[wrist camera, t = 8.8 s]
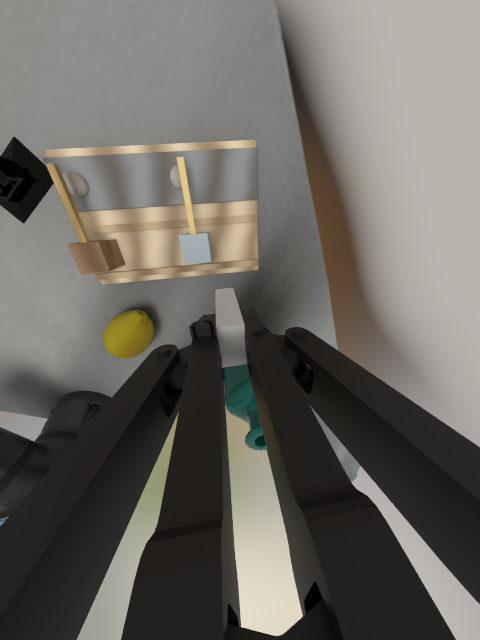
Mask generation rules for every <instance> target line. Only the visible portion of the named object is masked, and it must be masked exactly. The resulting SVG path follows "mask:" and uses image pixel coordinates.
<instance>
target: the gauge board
mask: <svg viewBox="0 0 480 640" xmlns="http://www.w3.org/2000/svg"><path fill="white" fill-rule="evenodd" d="M44 152H45V155H46V157H47V158H43V160H44V162H45V164H46V167H47V169H48V171H49V173H50V176H51V178H52V180H53V182H54V184H55V187H56V189H57V191H58V193H59V196H60V198H61V200H62V202H63V205H64V207H65V209H66V211H67V213H68V215H69V217H70V219H71V222H72V224H73V226H74V229H75V231H76V234H77V235H78V237H79V240H80V242H79V243H71V244H67V245H68V247H69V249H70V251H71V253H72V255H73V257H74V259H75V262H76V264H77V266H78V268H79V270H80V272H81V274H84V273H95V272H97V274H95V276H96V278H97V280H101V282H102V284H113V283H124V282H135V281H146V280H156V279H167V278H178V277H189V276H199V275H210V274H221V273H232V272H242V271H253V270H258V265H259V259H258V226H257V221H258V214H257V199H258V169H257V147H256V140H242V141H220V142H199V143H178V144H157V145H136V146H114V147H93V148H72V149H51V150H44ZM177 157H184V159H185V165H186V171H187V177H188V184H189V190H190V196H191V202H192V208H193V214H194V220H195V226H196V232H197V233H201V232H209V237H210V245H211V252H212V261H211V262H207V263H195V264H184V259H183V254H182V249H181V244H180V239H179V235H182V234H188V233H190V229H189V223H188V218H187V212H186V207H185V201H184V195H183V190H182V184H181V179H180V173H179V167H178V162H177Z"/></svg>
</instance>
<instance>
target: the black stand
mask: <svg viewBox="0 0 480 640" xmlns="http://www.w3.org/2000/svg"><path fill="white" fill-rule="evenodd" d="M53 183H54V182H53V180H52V178H51V176H50V173H49V171H48V169H47V167H46V166H45V165H44V164H43V163H42V162H41V161H40V160H39V159H38V158H37V157H36V156H35V155H34V154H33V153H31V152H30V151H29V150H28V149H27V148H26V147H25V146H24V145H23V144H22V143H21V142H20V141H19V140H18V139H16V138H15V137H13V138H12V140H11V141H10V143H9V144H8V146H7V148H6V149H5V151H4V152H3V154H2V155H1V156H0V205H1V206H2V207H4V208H5V209H6V210H7V211H9V212H10V213H11V214H12V215H13V216H15V217H16V218H17V219H18V220H20V221H21V222H22V223H25V221H26V220H27V219H28V217H29V216H30V215H31V213H32V212H33V211H34V209H35V208H36V207H37V205H38V204H39V202H40V201H41V200H42V198H43V197H44V196H45V194H46V193H47V192H48V190H49V189H50V188H51V186H52V185H53Z"/></svg>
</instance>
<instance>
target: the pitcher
mask: <svg viewBox="0 0 480 640" xmlns="http://www.w3.org/2000/svg"><path fill="white" fill-rule="evenodd" d="M224 386H225V405H226V408H227V410H228V411H229V412H230V413H231V414H233V415H235V416H236V417H238V418H240V419H242V420H244V421H246V422H248V423H249V427H250V431H249V432H248V434H247V435H246V437H245V443H246V444H247V446H248V447H249V448H252V449H254V450H267V448H266V444H265V440H264V435H263V431H262V427H261V423H260V418H259V414H258V410H257V406H256V401H255V397H254V393H253V389H252V384H251V380H249V375H248V362H247V364H244V365H237V366H230V367H224Z"/></svg>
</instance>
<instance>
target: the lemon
mask: <svg viewBox="0 0 480 640" xmlns="http://www.w3.org/2000/svg"><path fill="white" fill-rule="evenodd" d="M153 336H154V326H153V323H152V321H151V319H150V318H149V317H148V315H147V313H146V312H145V311H140V310H136V309H135V310H133V311H125V312H122V313H120V314H119V315H117V316H116V317H115V318H114V319H113V320H112V321H111V322H110V323H109V324H108V326H107V327H106V329H105V332H104V335H103V341H104V345H105V347H106V349H107V350H108V351H109V352H110V353H111V354H112V355H114V356H116V357H120V358H130V357H134V356H136V355H138V354H140V353H142V352H143V351H144V350H146V349H147V348H148V347H149V345H150V344H151V342H152V339H153Z"/></svg>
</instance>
